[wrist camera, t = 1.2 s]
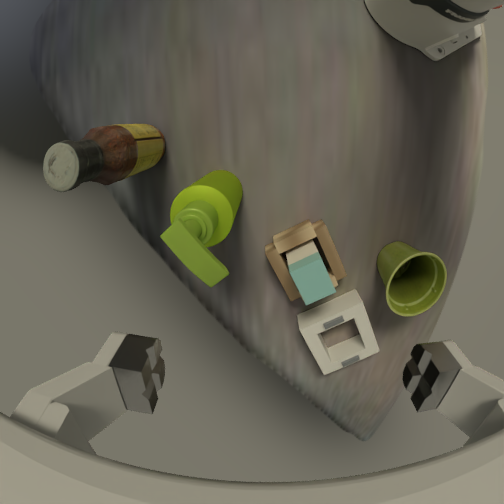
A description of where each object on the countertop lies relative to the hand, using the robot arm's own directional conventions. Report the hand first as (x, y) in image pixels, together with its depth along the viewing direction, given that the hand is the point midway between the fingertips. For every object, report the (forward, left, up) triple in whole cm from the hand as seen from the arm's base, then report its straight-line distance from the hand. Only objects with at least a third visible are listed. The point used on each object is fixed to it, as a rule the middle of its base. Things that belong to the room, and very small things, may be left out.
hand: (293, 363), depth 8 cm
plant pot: (-12, +18, -32) cm, 39 cm away
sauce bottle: (+12, -13, -32) cm, 37 cm away
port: (0, +25, -32) cm, 40 cm away
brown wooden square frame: (0, +11, -32) cm, 34 cm away
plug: (0, +11, -32) cm, 34 cm away
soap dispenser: (+6, -2, -32) cm, 33 cm away
